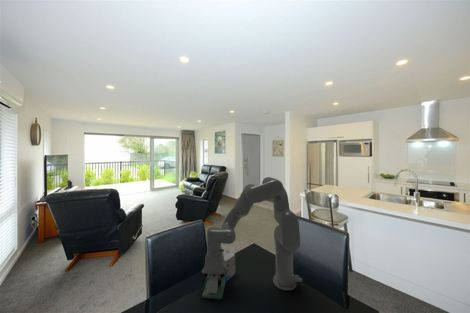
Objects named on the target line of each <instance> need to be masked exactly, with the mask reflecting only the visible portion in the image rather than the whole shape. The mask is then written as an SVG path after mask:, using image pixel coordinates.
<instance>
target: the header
mask: <svg viewBox="0 0 470 313" xmlns="http://www.w3.org/2000/svg"><path fill="white" fill-rule="evenodd" d="M226 282H227V281H226V280H223V279H221V285H220V287H219V288H218V291H217V293H208V280H207V282H206V283H205V287H204V289H203V292H202V293H201V294H202V295H201V298H203V299H212V300H223V295H224V290H225V286H226Z"/></svg>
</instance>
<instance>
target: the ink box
mask: <svg viewBox="0 0 470 313" xmlns="http://www.w3.org/2000/svg"><path fill="white" fill-rule="evenodd" d="M223 256H224V267H225V268H226V270H227V271H228V273H227V274H226V275H225V276H224V277H223V278H222V279H221V280H226V282H228V281H229V280H230V279H231V278H232V277H233V276H235V274H236V254H234V253H232V252H230V250H229V249H226V250H225V249H224V252H223ZM223 273H224V271H223Z"/></svg>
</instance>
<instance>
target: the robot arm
mask: <svg viewBox="0 0 470 313" xmlns="http://www.w3.org/2000/svg"><path fill="white" fill-rule="evenodd" d="M270 199H272V205H273V214H274V215H273V217H274V220H275V221H276V223H277V224H278V225H276V227H275V228H274V232H273V236H274V237H273V238H274V239H273V240H274V247H275V249H274V250H275V251H274V252H275V256H274V257H275V274H274V275H273V277H272V281H273V282H272V283H273V284H274V286H275V287H276V288H278V289H280V290H282V291H287V292H288V291H293V290H295V289H296V287H297V282H298V283H303V278H302V277H300V276H299V275H297V274H294V253H295V252H297V251H298V250H299V248H300V247H301V233H300V222H299V220H298V216H297V215H296V214H295V212H293V211H292V210H291V209H290V203H289V196H288V192H287V190H286V189H285V187H284V185H283V183H282V181H281V180H279V179H277V178H275V177H270V176H267V177H264V178H263V179H262V182H261V184H258V185H255V184H252V183H249V184H247V185H245V186H244V188H243V190H242V191H241V193H240V195H239V197H238V199H237V201H236V203H235V204H234V206H233V207H232V208H231V210H230V211H229V213H228V214H227V215H226V217H225V219H224V220H223V223H222V225H221V227H219V226H210V227H209V228H208V229H207V230H206V247H207V248H206V251H207V252H206V253H205V260H204V266H203V267H202V270H201V271H200V272H201V273H202V274H203V276H205V277H206V279H207V281H208V280H209V277H210V275H211V274H218V278H219V279H218V288H219V287H220V285H221V280H223V279H222V278H223V277H224V276H225V275H226V274H227V273H228V271H227V270H226V268H225V267H224V256H223V252H224V251H225V249H224V248H222V244H225V245H230V244H233V243H234V242H235V241H236V238H237V236H236V231H235V228H236V226H237V224H238V222H239V221H240V220H241V219H242V218H243V217H247V216H248V214H249V213H250V212H251V209H252V207H253V205H254V204H258V203H262V202H264V201H268V200H270ZM223 271H224V273H223Z"/></svg>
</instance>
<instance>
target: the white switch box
mask: <svg viewBox="0 0 470 313" xmlns="http://www.w3.org/2000/svg"><path fill="white" fill-rule="evenodd" d="M218 279H219V278H218V274H211V275H210V277H209V280H208V279H207V281H208V293H217V291H218Z"/></svg>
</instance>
